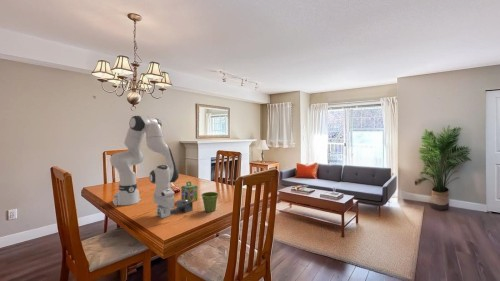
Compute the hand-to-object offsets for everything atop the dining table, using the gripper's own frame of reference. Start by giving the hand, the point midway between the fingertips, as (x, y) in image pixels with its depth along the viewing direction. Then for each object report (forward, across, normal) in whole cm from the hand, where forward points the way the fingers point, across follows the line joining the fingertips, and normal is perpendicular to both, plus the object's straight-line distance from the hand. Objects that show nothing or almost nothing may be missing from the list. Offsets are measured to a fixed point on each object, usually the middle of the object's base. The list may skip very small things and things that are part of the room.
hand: (163, 212), depth 150 cm
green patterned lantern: (+3, -16, +31) cm, 35 cm away
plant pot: (+3, +14, +27) cm, 30 cm away
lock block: (+2, 0, 0) cm, 2 cm away
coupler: (+2, 0, +11) cm, 11 cm away
